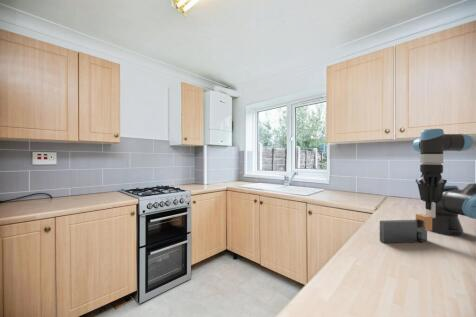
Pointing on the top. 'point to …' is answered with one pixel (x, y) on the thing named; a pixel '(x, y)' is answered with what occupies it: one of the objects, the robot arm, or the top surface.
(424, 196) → the robot arm
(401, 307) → the top surface
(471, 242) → the top surface
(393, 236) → the tongs hinged arm
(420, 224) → the arm
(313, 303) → the top surface
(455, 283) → the top surface
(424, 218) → the orange slotted clip
